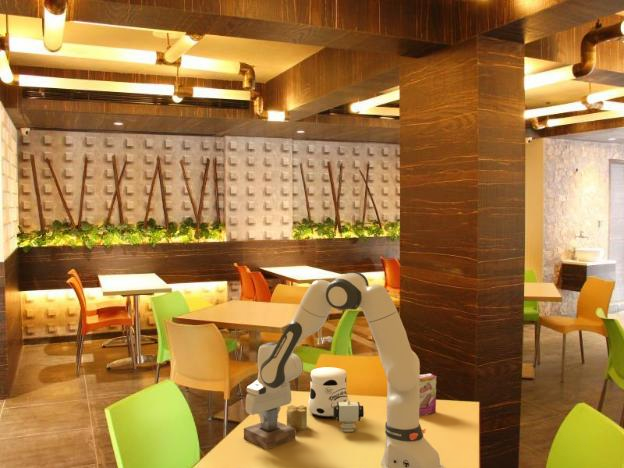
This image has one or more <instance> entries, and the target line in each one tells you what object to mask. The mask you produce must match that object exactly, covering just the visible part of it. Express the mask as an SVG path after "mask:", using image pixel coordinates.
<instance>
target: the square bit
mask: <svg viewBox="0 0 624 468" xmlns="http://www.w3.org/2000/svg"><path fill="white" fill-rule="evenodd" d="M263 416H264V417H266V422H264V423H261V422H260V423H261V430H264V431H266V432H268V433H269V432H271V431H274V430H277V421H278V418H277V409H276V408H274V409H271V410H268V411H264V414H263Z"/></svg>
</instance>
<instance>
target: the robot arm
mask: <svg viewBox="0 0 624 468" xmlns="http://www.w3.org/2000/svg"><path fill="white" fill-rule="evenodd" d="M393 300H394V299H393V298H392V297H391V295H390V293H389V292H388V290H387V289H386V288H385V286H383V285H381V284H372V285H369V281H368V278H367V277H366V276H365V275H364V274H363V273H361V272H358V271H349V272H346V273H345V274H342V275H339V276H337V278H335V279H334V280H332V281H331V282H330V281H328V280H326V279H325V280H324V279H316V280H314V281H313V282H312V283H311V284H310V285H309V286H308V288H307V290H306V291H305V293H304V295H303V296H302V299H301V301H300V303H299V305H298V306H297V309H296V311H295V313H294V315H293V317H292V318H291V320H290V322H289V323H288V325H287V327H285V330H283V333H282V335H281V336H280V338H279V339H278V342H276V341H271V342H266V343H263V344H261V345H260V346H259V348H258V351H257V369H258V374H257V379H256V380H255V381H253V382H252V383H250V384H249V385H248V386H247V387H246V392H247V394H246V397H245V411H246V413H247V414H248V415H251V416H254V415H258V417H259V418H260V419H259V420H260V422H259V423H264V422H266V417H264V416H263V414H264V411H268V410H271V409H274V408H276V409H277V419H279V413H280V410H281V407H283V406H287V405H289V404H291V403H292V392H291V391H292V390H291V382H290V381H292V380H294V379H297V378H298V377H300V376H301V375H302V374H303V371H304V364H303V361H302V358H301V357H300V356H299V355H298V354H297V353H294V351H295V349H296V348H297V346H298V345H299V344H300V343H301V342H303V341H304V340H306V339H307V338H308V337H310V336H311V335H314V334H315V333H317V332H318V331H320V329H321V328H322V327H323V326H324V324H325V322H326V321H327V319H328V317H329V315H330V312H331V311H332V309H336V310H341V311H342V310H356V309H358V308H359V309H360V310H361V311H362V313H363V315H364V317H365V320H366V322H367V325H368V327H369V330H370V332H371V335H372V337H373V339H374V342H375V345H376V349H377V351H378V352H377V353H378V355H379V359H380V361H381V365H382V368H383V371H384V374H385V377H386V379H387V389H386V390H387V391H386V392H387V393H386V394H387V395H386V421H385V424H384V425H385V428H384V429H385V431H384V433H385V446H384V452H383V455H382V456H383V457H382V459H381V465H382V467H383V468H447V467H446V466H444V465H443V464H441V461H440V460H441V459H440V455H439V452H438V451H437V450H436V449H435V448H434V446H432V445H431V444H430V442H429V441H428V440H427V439H426V438H425V437H424V433H426V430H427V429H426V428H424V429H422V427H421V423H420V416H419V379H420V375H421V374H420V372H421V371H420V370H421V369H420V368H421V365H420V364H421V363H420V358H419V357H418V355H417V353H416V352H414V350H412V348H411V345H410V341H409V339H408V335H407V331H406V329H405V327H404V325H403V322H402V319H401V317H400V314H399V312H398V308H397V307H396V305H395V302H394V301H393Z"/></svg>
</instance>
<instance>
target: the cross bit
mask: <svg viewBox="0 0 624 468" xmlns="http://www.w3.org/2000/svg"><path fill="white" fill-rule="evenodd" d="M307 407H308V406H306V405H299V406H296V405H293V404H292V405H288V406H287V410H286V425H288V426H290V427H292V428H295V431H299V432H306V431H307V426H308V423H307V422H308V421H307V419H308V417H307V416H308V414H307V413H308V411H307V410H308V408H307Z"/></svg>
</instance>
